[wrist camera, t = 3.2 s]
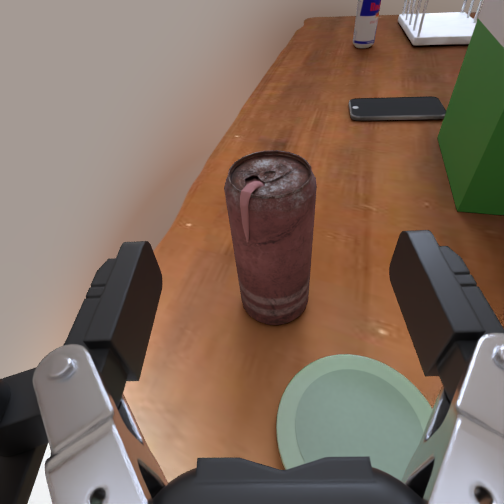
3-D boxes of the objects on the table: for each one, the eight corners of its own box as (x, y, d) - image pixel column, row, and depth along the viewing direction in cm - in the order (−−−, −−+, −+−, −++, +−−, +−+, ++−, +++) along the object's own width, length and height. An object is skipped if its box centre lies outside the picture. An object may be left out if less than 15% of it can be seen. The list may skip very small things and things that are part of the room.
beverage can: (369, 49, 82) (382, -31, 71) (349, 48, 84) (358, -30, 73) (376, 43, 85) (389, -34, 74) (356, 42, 87) (366, -34, 76)
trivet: (378, 340, 28) (380, 334, 27) (484, 490, 21) (491, 487, 20) (254, 387, 26) (253, 383, 25) (322, 573, 19) (323, 573, 18)
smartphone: (348, 98, 61) (437, 95, 59) (348, 102, 61) (436, 100, 59) (351, 116, 56) (449, 115, 53) (351, 121, 56) (448, 119, 54)
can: (230, 318, 31) (203, 190, 21) (257, 269, 35) (245, 141, 25) (294, 340, 29) (298, 209, 19) (315, 284, 33) (327, 153, 23)
